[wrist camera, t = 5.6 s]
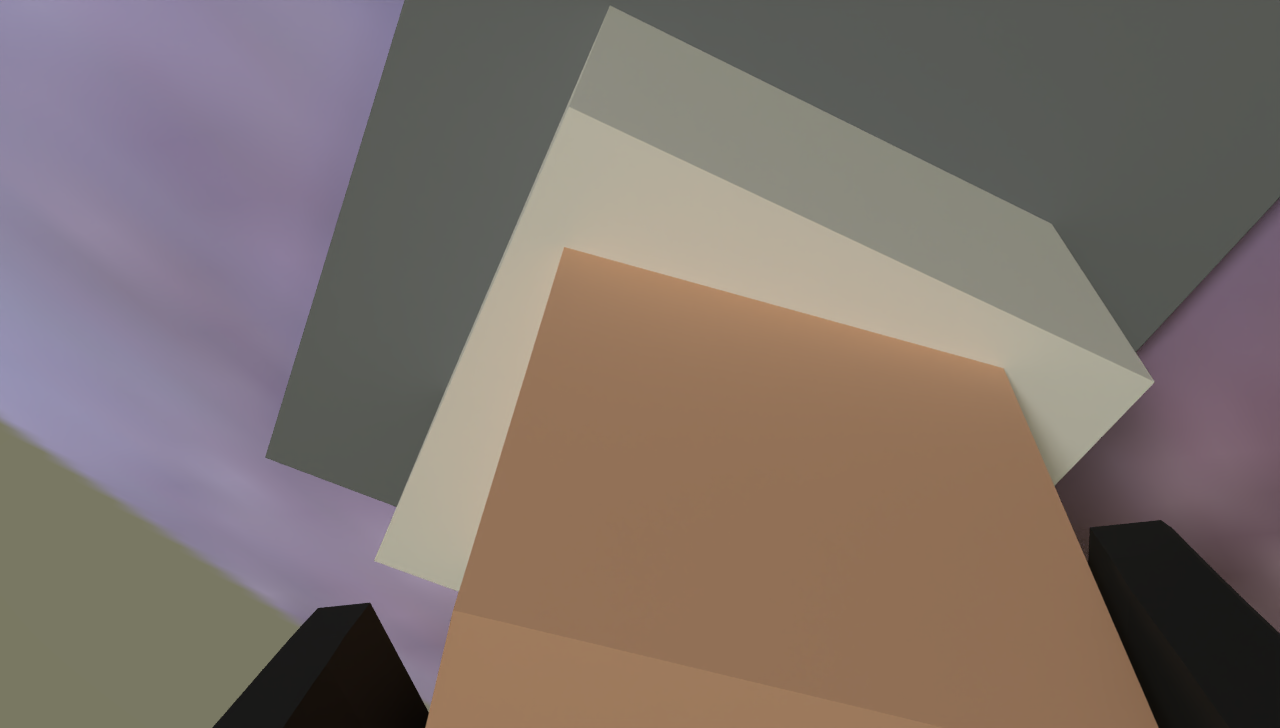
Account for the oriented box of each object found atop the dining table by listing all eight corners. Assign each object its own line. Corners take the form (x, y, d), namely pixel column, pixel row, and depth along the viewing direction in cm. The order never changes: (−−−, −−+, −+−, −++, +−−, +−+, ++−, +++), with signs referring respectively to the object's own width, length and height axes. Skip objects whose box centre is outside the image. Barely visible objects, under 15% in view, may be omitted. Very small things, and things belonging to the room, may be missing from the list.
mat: (1694, -301, 11) (1741, -301, 10) (834, 649, 20) (837, 672, 20) (722, -994, 8) (721, -1040, 8) (277, 437, 18) (265, 457, 17)
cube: (1003, 367, 11) (1182, 784, 6) (834, 651, 13) (882, 1069, 9) (564, 246, 10) (454, 610, 6) (483, 566, 13) (369, 964, 9)
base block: (1051, 223, 14) (1155, 382, 11) (805, 535, 18) (824, 724, 14) (610, 5, 13) (568, 106, 9) (445, 390, 16) (373, 560, 13)
